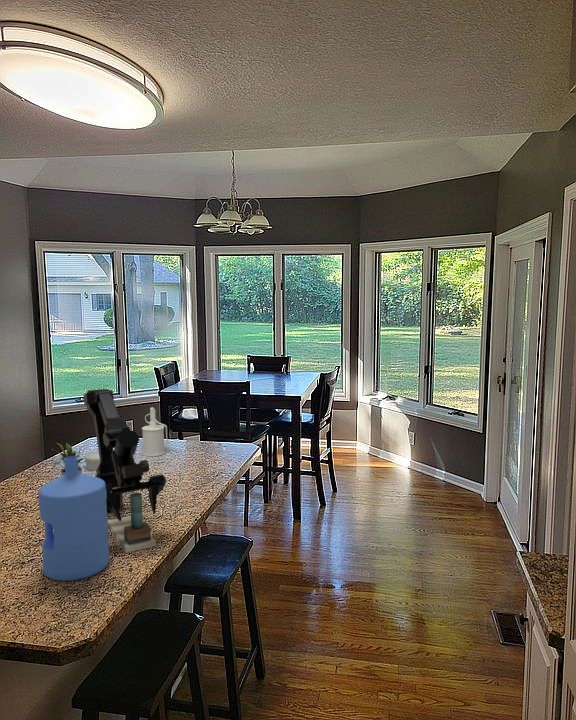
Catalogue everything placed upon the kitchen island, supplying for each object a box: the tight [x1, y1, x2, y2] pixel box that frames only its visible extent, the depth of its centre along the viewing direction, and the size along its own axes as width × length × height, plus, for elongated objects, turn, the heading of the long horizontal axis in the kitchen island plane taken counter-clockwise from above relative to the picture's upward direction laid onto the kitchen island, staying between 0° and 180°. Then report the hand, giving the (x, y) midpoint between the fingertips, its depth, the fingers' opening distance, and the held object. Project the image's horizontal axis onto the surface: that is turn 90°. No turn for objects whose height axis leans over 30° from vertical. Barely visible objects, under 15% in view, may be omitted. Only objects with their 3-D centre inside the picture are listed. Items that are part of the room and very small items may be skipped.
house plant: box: [52, 442, 91, 476], centre depth 197 cm, size 14×14×16 cm
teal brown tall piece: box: [124, 492, 152, 545], centre depth 150 cm, size 4×6×12 cm, turn 121°
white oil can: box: [141, 407, 168, 458], centre depth 237 cm, size 10×9×20 cm
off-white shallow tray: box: [107, 515, 157, 554], centre depth 157 cm, size 20×8×2 cm, turn 31°
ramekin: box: [83, 450, 100, 472], centre depth 219 cm, size 11×11×5 cm
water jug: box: [38, 455, 111, 582], centre depth 138 cm, size 16×16×28 cm
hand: (137, 516), depth 149 cm, fingers open, 9 cm apart
